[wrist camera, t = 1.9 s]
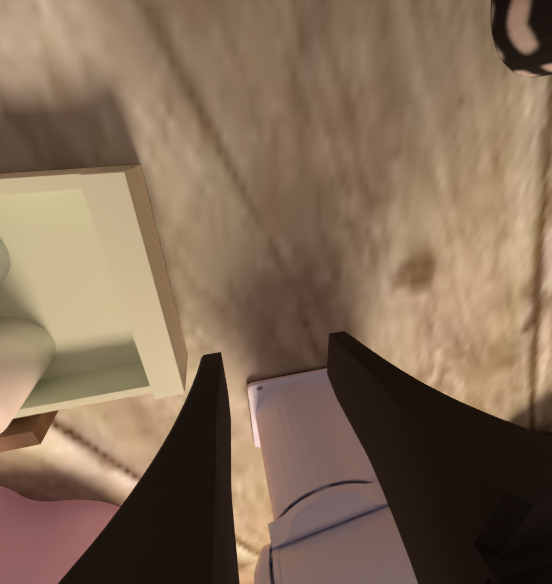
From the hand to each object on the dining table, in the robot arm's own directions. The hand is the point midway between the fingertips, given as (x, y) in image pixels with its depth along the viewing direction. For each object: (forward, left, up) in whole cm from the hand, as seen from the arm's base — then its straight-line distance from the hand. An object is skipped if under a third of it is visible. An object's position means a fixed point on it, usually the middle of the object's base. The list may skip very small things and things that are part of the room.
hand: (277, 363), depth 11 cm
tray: (+12, 0, -9) cm, 15 cm away
